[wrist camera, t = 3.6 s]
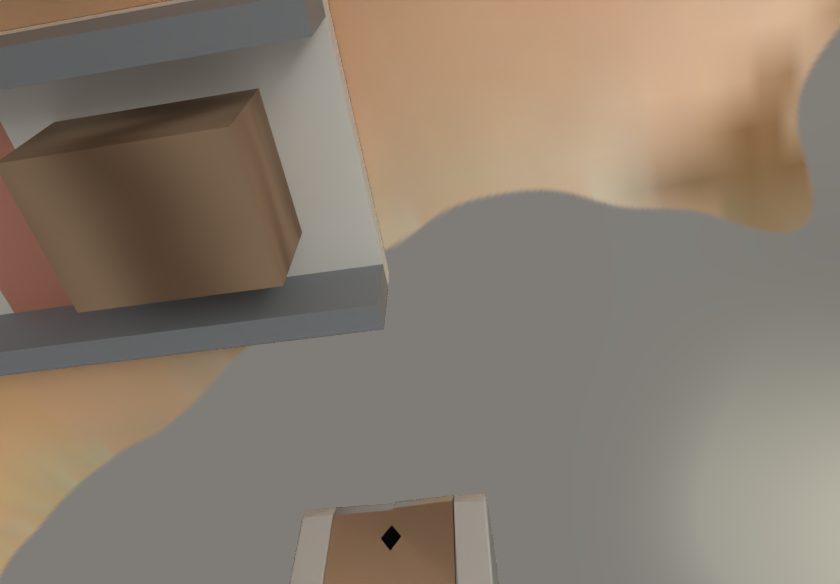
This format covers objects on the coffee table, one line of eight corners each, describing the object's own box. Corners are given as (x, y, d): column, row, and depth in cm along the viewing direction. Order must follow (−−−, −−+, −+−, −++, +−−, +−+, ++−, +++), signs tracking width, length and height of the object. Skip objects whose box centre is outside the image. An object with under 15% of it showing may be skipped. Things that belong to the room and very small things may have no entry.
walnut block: (258, 88, 24) (229, 126, 20) (302, 232, 27) (283, 285, 24) (54, 121, 24) (-7, 163, 21) (120, 257, 28) (77, 312, 24)
